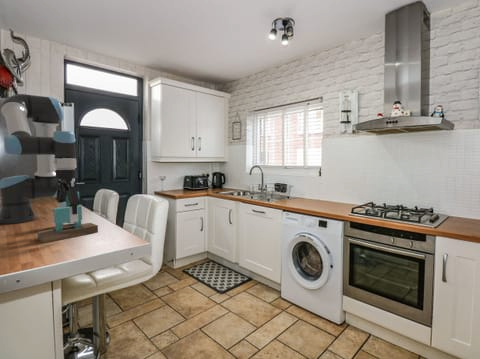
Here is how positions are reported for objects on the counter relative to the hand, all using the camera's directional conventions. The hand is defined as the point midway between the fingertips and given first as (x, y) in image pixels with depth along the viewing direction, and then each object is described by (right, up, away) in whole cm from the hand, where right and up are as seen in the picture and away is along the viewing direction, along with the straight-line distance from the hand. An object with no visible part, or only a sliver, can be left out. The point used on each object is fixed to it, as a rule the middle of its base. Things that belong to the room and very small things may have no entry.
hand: (68, 219), depth 113 cm
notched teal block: (0, -7, +1) cm, 7 cm away
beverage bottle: (-10, -5, +20) cm, 23 cm away
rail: (0, -7, +1) cm, 7 cm away
